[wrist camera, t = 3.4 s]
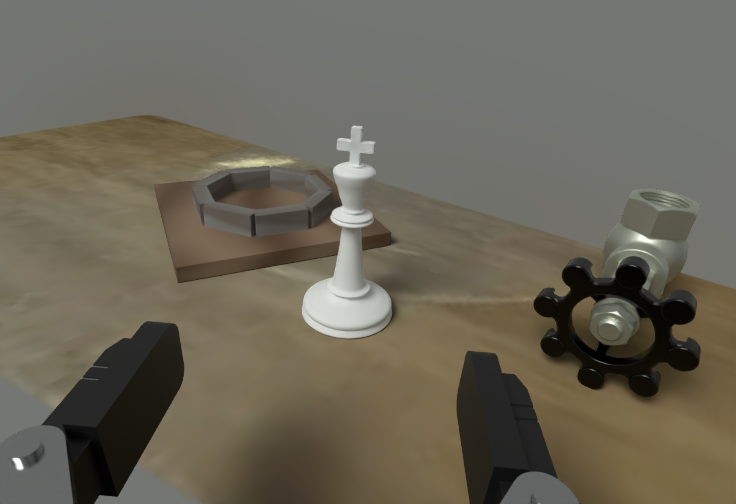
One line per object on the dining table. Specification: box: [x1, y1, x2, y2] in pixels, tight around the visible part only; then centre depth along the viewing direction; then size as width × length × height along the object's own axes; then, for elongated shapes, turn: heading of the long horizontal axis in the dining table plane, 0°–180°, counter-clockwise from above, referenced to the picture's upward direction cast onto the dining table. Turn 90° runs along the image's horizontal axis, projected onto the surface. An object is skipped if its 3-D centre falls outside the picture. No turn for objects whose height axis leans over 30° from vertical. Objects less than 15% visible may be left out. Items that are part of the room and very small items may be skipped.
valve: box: [533, 188, 701, 397], centre depth 24 cm, size 7×7×12 cm
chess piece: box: [302, 126, 392, 339], centre depth 23 cm, size 5×5×10 cm
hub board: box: [154, 166, 391, 283], centre depth 34 cm, size 14×14×2 cm
